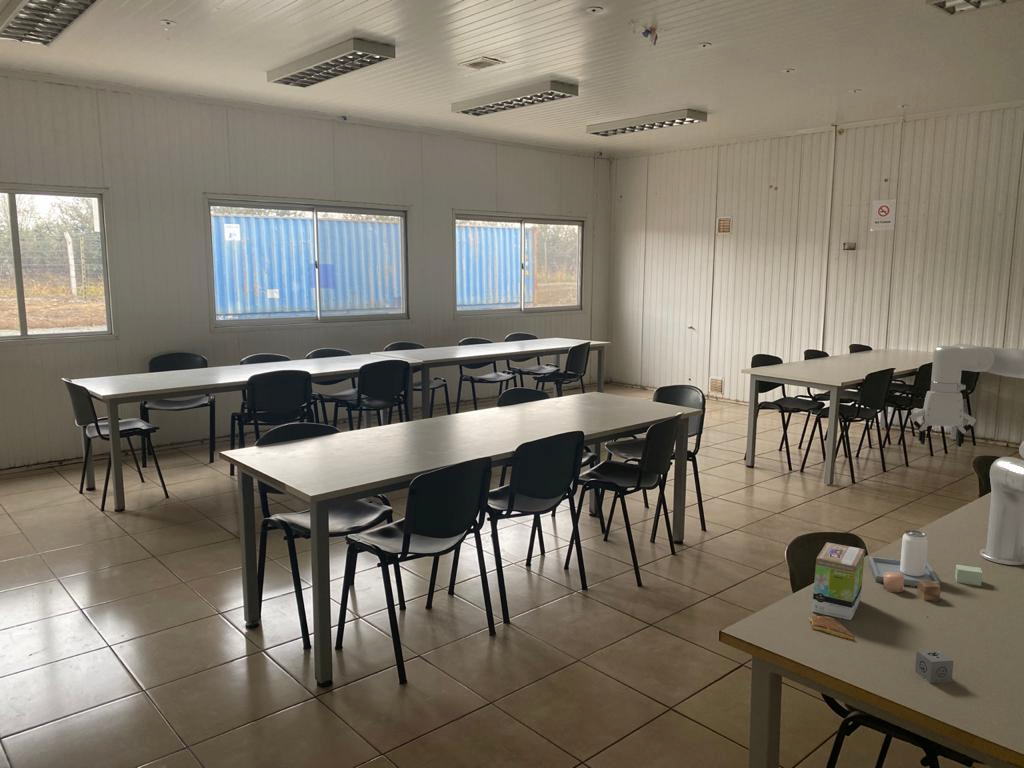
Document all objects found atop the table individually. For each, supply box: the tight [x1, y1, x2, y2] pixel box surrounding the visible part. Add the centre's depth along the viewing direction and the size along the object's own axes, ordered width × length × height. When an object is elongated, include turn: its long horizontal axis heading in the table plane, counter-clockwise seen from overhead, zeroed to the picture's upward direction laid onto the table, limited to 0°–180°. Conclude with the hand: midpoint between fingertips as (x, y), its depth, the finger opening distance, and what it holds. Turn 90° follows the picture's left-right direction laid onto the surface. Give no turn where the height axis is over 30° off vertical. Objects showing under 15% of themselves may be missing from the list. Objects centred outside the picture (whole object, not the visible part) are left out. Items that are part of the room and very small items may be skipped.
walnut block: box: [916, 581, 941, 602], centre depth 206 cm, size 4×4×4 cm
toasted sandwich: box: [808, 615, 855, 641], centre depth 186 cm, size 11×8×2 cm
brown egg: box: [883, 572, 905, 593], centre depth 211 cm, size 5×5×4 cm
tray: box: [868, 556, 941, 588], centre depth 221 cm, size 16×16×2 cm
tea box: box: [811, 542, 866, 621], centre depth 199 cm, size 15×10×15 cm, turn 148°
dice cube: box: [914, 649, 954, 684], centre depth 165 cm, size 5×5×5 cm
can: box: [900, 529, 928, 577], centre depth 221 cm, size 6×6×12 cm
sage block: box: [954, 564, 983, 587], centre depth 217 cm, size 6×4×4 cm, turn 66°
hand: (940, 444), depth 227 cm, fingers open, 9 cm apart
